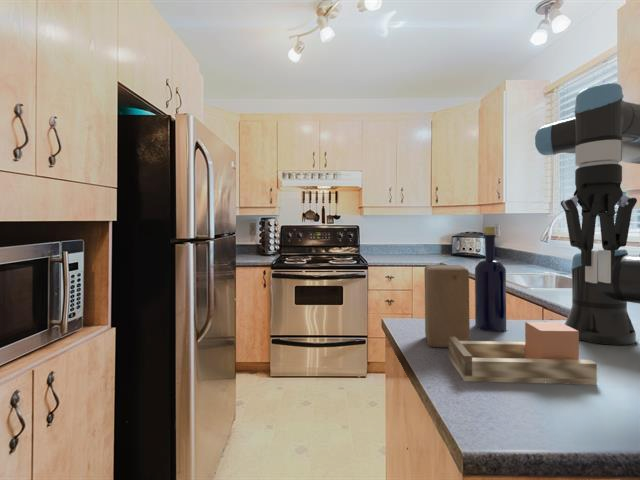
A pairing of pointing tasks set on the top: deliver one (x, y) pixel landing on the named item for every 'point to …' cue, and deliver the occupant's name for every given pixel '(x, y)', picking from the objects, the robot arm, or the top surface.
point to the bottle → (490, 289)
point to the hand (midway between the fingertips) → (597, 281)
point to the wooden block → (446, 304)
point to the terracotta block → (551, 341)
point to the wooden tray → (515, 364)
